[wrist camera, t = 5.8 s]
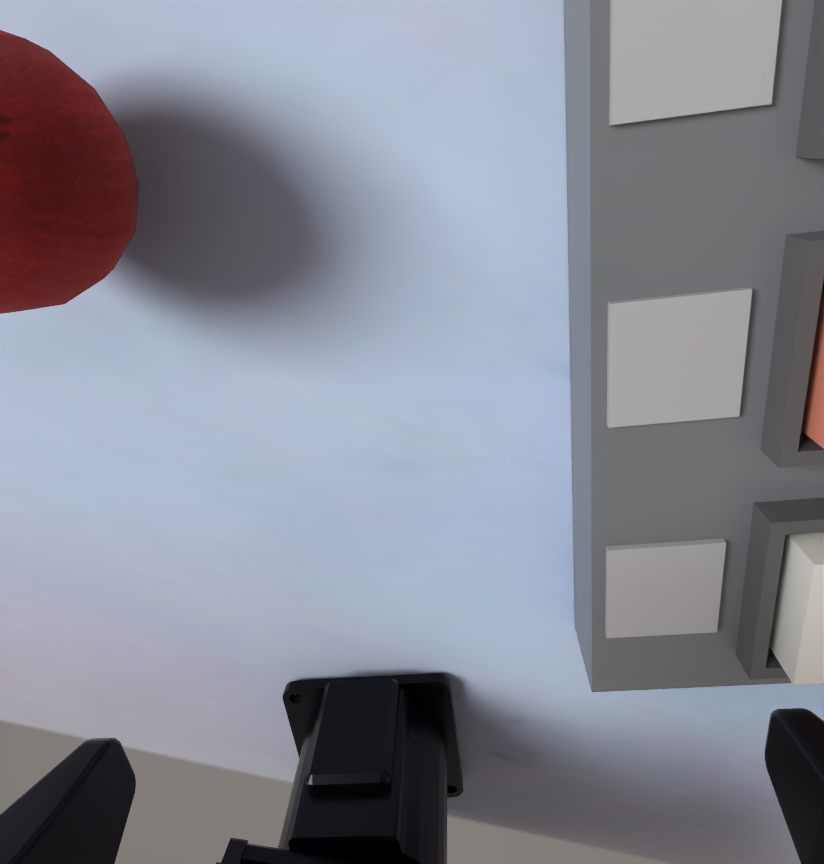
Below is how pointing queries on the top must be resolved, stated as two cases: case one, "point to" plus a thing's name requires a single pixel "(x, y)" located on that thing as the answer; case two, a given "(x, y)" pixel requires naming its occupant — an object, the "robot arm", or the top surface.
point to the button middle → (816, 385)
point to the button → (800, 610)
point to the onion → (57, 181)
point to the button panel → (691, 328)
